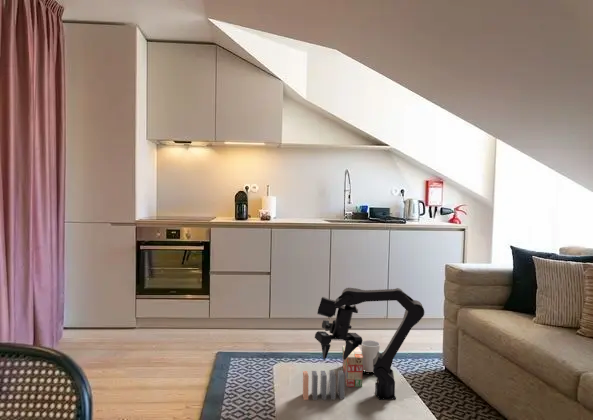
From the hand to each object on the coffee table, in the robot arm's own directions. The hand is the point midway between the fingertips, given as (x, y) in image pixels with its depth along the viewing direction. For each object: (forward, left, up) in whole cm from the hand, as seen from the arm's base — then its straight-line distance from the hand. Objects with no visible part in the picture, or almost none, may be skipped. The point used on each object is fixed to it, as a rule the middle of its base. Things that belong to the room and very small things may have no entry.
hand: (334, 359), depth 175 cm
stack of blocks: (-10, -14, -13) cm, 22 cm away
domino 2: (+8, +4, -13) cm, 16 cm away
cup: (-19, -19, -13) cm, 30 cm away
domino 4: (+1, +4, -13) cm, 13 cm away
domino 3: (+5, +4, -13) cm, 14 cm away
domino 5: (-2, +4, -13) cm, 14 cm away
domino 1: (+11, +4, -13) cm, 18 cm away
